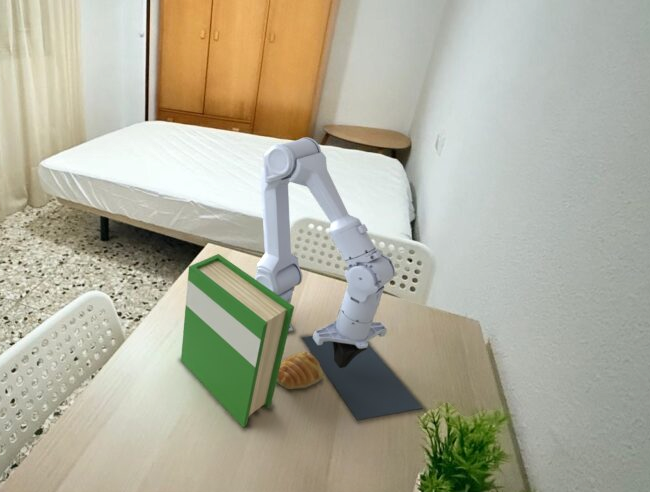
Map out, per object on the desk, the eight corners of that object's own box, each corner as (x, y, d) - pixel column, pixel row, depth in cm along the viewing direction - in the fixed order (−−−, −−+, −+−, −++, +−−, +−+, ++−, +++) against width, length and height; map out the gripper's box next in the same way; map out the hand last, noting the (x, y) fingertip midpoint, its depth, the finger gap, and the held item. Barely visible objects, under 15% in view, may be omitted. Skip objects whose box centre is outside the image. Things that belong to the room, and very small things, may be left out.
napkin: (301, 337, 91) (301, 337, 91) (356, 330, 93) (356, 329, 93) (357, 420, 73) (357, 419, 73) (422, 408, 76) (422, 407, 76)
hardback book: (270, 405, 75) (294, 306, 65) (243, 427, 71) (263, 325, 61) (207, 345, 88) (218, 253, 77) (180, 360, 84) (188, 266, 73)
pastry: (291, 400, 76) (295, 386, 75) (266, 374, 82) (269, 360, 80) (324, 380, 81) (328, 366, 79) (298, 356, 86) (302, 343, 84)
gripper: (334, 332, 70) (318, 385, 76) (405, 323, 73) (384, 375, 79) (313, 305, 77) (299, 356, 83) (379, 297, 79) (361, 347, 85)
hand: (339, 363), depth 81 cm, fingers closed
